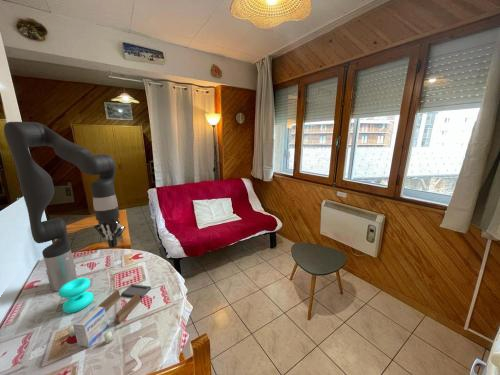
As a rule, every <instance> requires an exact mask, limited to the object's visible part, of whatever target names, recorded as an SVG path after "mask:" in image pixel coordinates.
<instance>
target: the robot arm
mask: <svg viewBox="0 0 500 375" xmlns="http://www.w3.org/2000/svg"><path fill="white" fill-rule="evenodd" d="M3 133H4V137H5V140H6V143H7V146H8V148H9V150H10V153H11V156H12V159H13V161H14V165H15V168H16V171H17V176H18V179H19V185H20V190H21V193H22V197H23V200H24V203H25V206H26V209H27V213H28V220H29V227H30V231H31V235H32V239H33V241H34V242H35V243H36V244H43V243H47V242H52V241H54V240H55V241H54V242H52V243H51V244H50V245H48V246H46V247H45V248H43V250H42V253H41V254H42V257H43V260H44V263H45V267H46V275H47V279H48V282H49V285H50V286H49V287H50V288H51V290H52V291H53V292H59V290H60V288H61V287H62V286H63V285H65V284H66V283H68V282H70V281H72V280H74V279H78V274H77V270H76V266H75V263H74V258H73V252H72V250H71V246H70V241H69V235H68V229H67V225H66V222H65V219H63V218H62V217H57V218H52V219H47V220H44V221H43V220H42V218H43V215H44V212H45V210H46V208H47V207H48V206H49V203H50V202H51V201H52V199H53V197H54V194H55V186H54V182H53V178H52V176H51V175H50V173H48V172H47V171H46V170H45V169H44V168H43V167H41V166H40V165H39V164H38V163H37V162H36V161H35V160H34V159H33V157H32V155H31V152H30V150H29V148H33V147H41V146H44V147H45V146H46V147H51V148H53V151H54V153H55V155H57V157H58V158H60V159H62V160H64V161H66V162H68V163H71V164H73V165H74V166H75V167H77V168H78V169H79V170H80V171H81V172H82V173H84V174H86V175H89V176H96V175H98V178H97V179H96V180H94V181H92V182H91V183H90V189H91V195H92V202H93V203H92V204H93V211H94V214H95V220H96V221H98V222H97V223H98V224H96V225H94V227H93V228H94V229H95V230H96V231H97V233H98V234H99V235H100V237H102V238H103V239H106V240H107V244H108V246H109V248H110V249H114V248H116V247H117V246H118V241H117V240H118V238H119V237H121V236H122V234H123V233H124V231H125V229H126V226H125V225H122V224H120V222H121V221H120V220H119V216H120V210H119V205H118V198H117V195H116V190H115V186H114V185H115V184H114V182H115V178H116V168H117V164H116V161H115V159H114V157H112V156H111V155H110V154H104V153H103V154H92V152H91V150H89V149H87V148H85V147H83V146H81V145H78V144H76V143H74V142H72V141H70V140H67V139H66V138H64V137H63V136H61V135H60V134H58V133H57V132H55V131H53V130H52V129H50V128H49V127H48V126H46V125H44V124H42V123H41V122H40V123H39V122H36V121H8V122H5V124H4V126H3Z"/></svg>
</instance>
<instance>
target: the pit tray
mask: <svg viewBox="0 0 500 375" xmlns="http://www.w3.org/2000/svg"><path fill="white" fill-rule="evenodd" d="M151 289H152V287H151V286H149V285H143V284H136V283H135V284H134V283H131V284H130V285H129V286H128V287H127V288H126V289H124V290H123V291H122V292H121V296H123V297H129V298H132V297H133V296H134V295H135V294H136V293H140V299H143V298H144V297H145V296H146V295H147V293H148V292H150V290H151Z"/></svg>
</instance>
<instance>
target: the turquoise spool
mask: <svg viewBox="0 0 500 375" xmlns="http://www.w3.org/2000/svg"><path fill="white" fill-rule="evenodd" d="M90 287H91V280H90V279H89V278H87V277H77V279H74V280H72V281H70V282H68V283H66V284H65V285H63V286H62V287H61V288H60V290H59V291H58V292H57V293H58V294H57V295H58V296H59V297H61V298H62V299H66V300H65V301H64V302H63V305H62V307H61V308H62V311H63V312H65V313H69V314H71V313H72V314H73V313H76V312H80V311H81V310H83V309H85V308H86V307H88V306H89V305H90V304H91V303H92V302H93V300H94V297H95V296H94V294H93V293H92V292H91V291H87V290H88V289H89V288H90Z"/></svg>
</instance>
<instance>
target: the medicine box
mask: <svg viewBox="0 0 500 375" xmlns="http://www.w3.org/2000/svg"><path fill="white" fill-rule="evenodd" d="M98 306H99V305H97V306H93V307H91V309H90V310H89V311H88V310H87V312H86V313H85V314H84V315H83V316H82V317H80V318H79V319H78V320H77V321H76V322H74V323H73V324H72V325H73V327H74V331H75V335H74V336H75V337H76V338H75V339H76V342H77V346H81V347H91V346H92V344H94V342H96V340H97V339H98V338H99V337H100V336H101V335H102V334H103V333H104V332H105V331H106V330H107V329H108V327H109V323H108V319H107V312H105V308H104V307H98Z"/></svg>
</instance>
